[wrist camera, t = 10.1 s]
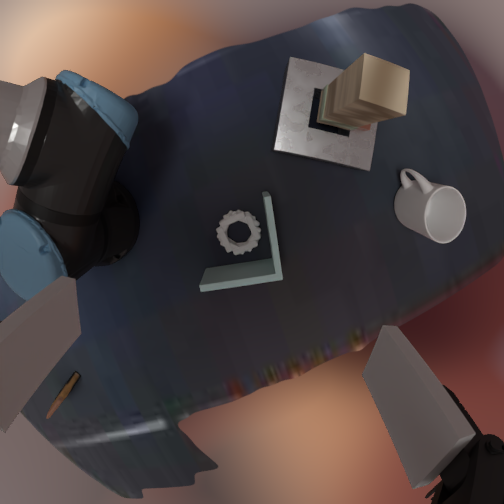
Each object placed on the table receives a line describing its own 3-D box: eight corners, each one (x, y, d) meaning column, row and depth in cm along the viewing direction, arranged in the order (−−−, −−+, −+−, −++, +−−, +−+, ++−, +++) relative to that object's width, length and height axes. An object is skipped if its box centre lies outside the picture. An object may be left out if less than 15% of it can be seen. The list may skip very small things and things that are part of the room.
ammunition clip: (75, 370, 57) (53, 402, 46) (81, 375, 57) (60, 407, 46) (62, 387, 59) (42, 417, 48) (67, 392, 60) (48, 422, 48)
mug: (408, 154, 44) (443, 154, 34) (437, 209, 47) (472, 221, 37) (373, 181, 45) (404, 187, 35) (405, 236, 48) (437, 254, 38)
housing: (270, 151, 44) (275, 148, 36) (285, 68, 40) (292, 52, 32) (355, 169, 45) (375, 171, 37) (367, 90, 41) (388, 79, 33)
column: (315, 122, 36) (357, 99, 21) (320, 90, 34) (363, 51, 19) (348, 130, 36) (406, 116, 21) (353, 99, 35) (410, 70, 19)
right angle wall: (267, 190, 46) (270, 196, 39) (278, 262, 50) (282, 279, 43) (192, 203, 47) (182, 211, 40) (207, 273, 50) (200, 291, 43)
